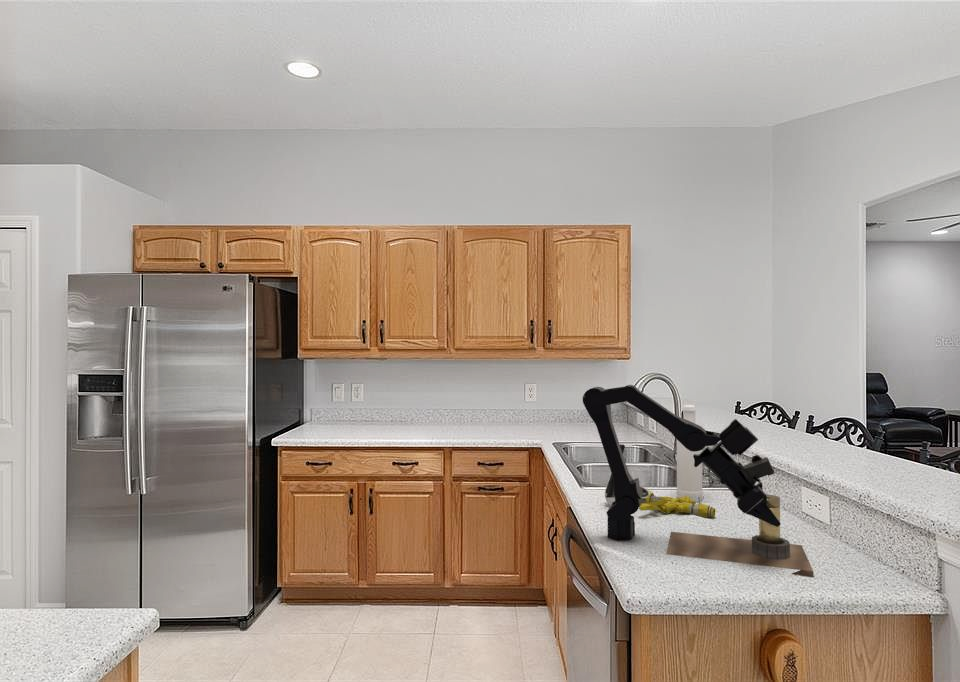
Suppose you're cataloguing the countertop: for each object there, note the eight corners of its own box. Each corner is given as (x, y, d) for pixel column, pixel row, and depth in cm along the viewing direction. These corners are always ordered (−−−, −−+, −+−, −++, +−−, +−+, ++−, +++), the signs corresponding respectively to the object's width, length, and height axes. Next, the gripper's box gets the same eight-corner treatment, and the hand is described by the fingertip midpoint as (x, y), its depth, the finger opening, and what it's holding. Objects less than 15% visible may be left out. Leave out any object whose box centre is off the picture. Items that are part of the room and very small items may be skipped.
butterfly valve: (641, 496, 197) (596, 496, 190) (658, 440, 192) (612, 438, 185) (657, 511, 189) (610, 511, 183) (675, 453, 184) (627, 451, 178)
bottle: (708, 500, 192) (708, 406, 193) (688, 503, 189) (688, 407, 190) (690, 495, 200) (690, 403, 200) (671, 497, 197) (671, 404, 197)
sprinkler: (723, 511, 181) (657, 499, 193) (723, 489, 181) (657, 479, 192) (702, 536, 163) (630, 521, 175) (702, 513, 163) (630, 499, 174)
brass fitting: (773, 557, 137) (773, 500, 137) (755, 552, 141) (754, 496, 141) (784, 554, 140) (783, 497, 140) (766, 548, 143) (765, 493, 143)
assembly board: (666, 559, 140) (666, 540, 140) (670, 536, 157) (670, 519, 157) (813, 576, 129) (813, 557, 129) (801, 550, 146) (801, 532, 146)
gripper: (754, 452, 133) (811, 507, 129) (749, 440, 151) (799, 488, 147) (715, 485, 136) (770, 540, 132) (715, 469, 153) (763, 517, 149)
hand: (777, 519), depth 140 cm, fingers open, 9 cm apart
